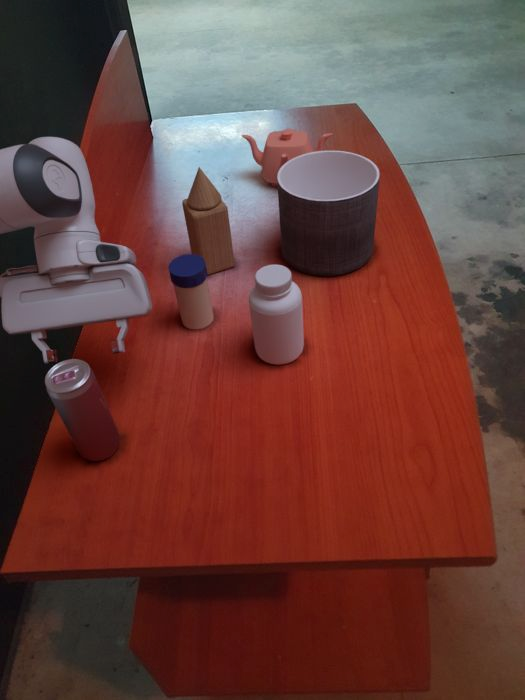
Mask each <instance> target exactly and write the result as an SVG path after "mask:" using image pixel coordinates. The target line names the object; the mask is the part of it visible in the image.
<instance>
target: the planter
mask: <svg viewBox="0 0 525 700" xmlns="http://www.w3.org/2000/svg"><path fill="white" fill-rule="evenodd" d="M380 176H381V173H380V169H379V167H378V166H377V165H376V163H374V162H373V160H371V159H369V158H367V157H365V156H363V155H362V154H357V153H354V152H351V151H345V150H344V151H343V150H324V151H317V152H311V153H307V154H303V155H300V156H297V157H295V158H293V159H291V160H289V161H288V162H286V163H285V164H284V165H283V166H282V167H281V168H280V169H279V171H278V174H277V185H278V186H277V199H278V201H277V202H278V215H279V228H280V229H279V230H280V231H279V232H280V247H281V248H280V252H281V256H282V257H283V258H282V259H284V261H285V263H287V264H288V265H289V266H290V267H292V269H295V270H297V271H299V272H301V273H304V274H308V275H312V276H319V277H334V276H335V277H336V276H341V275H346V274H350V273H353V272H354V271H357V270H359V269H361V268H362V267H363V266H365V265H366V264H367V263H368V262H369V261H370V260H371V258H372V256H373V255H374V249H375V232H376V224H377V223H376V222H377V211H378V202H379V201H378V200H379V191H380V189H379V187H380V178H381V177H380Z"/></svg>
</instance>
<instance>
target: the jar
mask: <svg viewBox="0 0 525 700" xmlns="http://www.w3.org/2000/svg"><path fill="white" fill-rule="evenodd" d="M172 285H173V290H174V294H175V298H176V302H177V306H178V311H179V316H180V319H181V323H182V325H183V326H184V327H185V328H188V329H190V330H202V329H204V328H206V327H208V326H209V325H211V324H212V322H213V321H214V318H215V317H214V309H213V303H212V297H211V292H210V286H209V281H208V277H207V278H206V280H205V281H204V282H203V283H201V284H200V285H198V286H195V287H191V288H181V287H178V286H176V285H174V284H173V283H172Z"/></svg>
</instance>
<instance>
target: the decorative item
mask: <svg viewBox="0 0 525 700" xmlns="http://www.w3.org/2000/svg"><path fill="white" fill-rule="evenodd" d="M196 171H197V172H196V174H195V177H194V179H193V182H192V185H191V188H190V191H189V193H188V196H187V198H185V199H183V200H182V202H181V204H182V210H183V215H184V221H185V225H186V231H187V237H188V242H189V247H190V252H191V254H195V255H199V256H201V257H202V258H203V259H204V260H205V263H206V268H207V274H208V276H209V275H212V274H215V273H218V272H221V271H225V270H227V269H231V268H233V267H234V266H235V255H234V247H233V240H232V233H231V232H232V231H231V224H230V217H229V208H228V206H227V204H226V203H225V202H224V200H223V199H222V194H221V193H220V192H219V191H218V189H217V188H216V186H215V185H214V184H213V183H212V181H211V180H210V179H209V178H208V176H207V175H206V173H205V172H204V171H203V169H202V168H201V167H200V166H198V169H197V170H196Z"/></svg>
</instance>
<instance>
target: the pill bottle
mask: <svg viewBox="0 0 525 700" xmlns="http://www.w3.org/2000/svg"><path fill="white" fill-rule="evenodd" d="M254 284H255V285H253V287H251V290H250V292H249V295H248V305H249V313H250V320H251V326H252V327H251V329H252V336H253V343H254V349H255V352H256V354H257V356H258V357H259V358H260V359H261V360H262V361H263V362H265V363H268V364H271V365H276V366H277V365H278V366H279V365H286V364H290V363H292V362H294V361H295V360H297V359H298V358H300V356H301V355H302V353H303V351H304V347H305V336H304V335H305V334H304V317H303V316H304V313H303V312H304V311H303V296H302V295H303V294H302V291H301V289H300V287H299V286H298V284H297V283H296V282H294V281H293V276H292V271H291V270H290V269H289V268H288V267H286V266H284V265H281V264H268V265H264V266H262V267H260V268H259V269H258V270H257V271H256V273H255V275H254Z"/></svg>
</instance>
